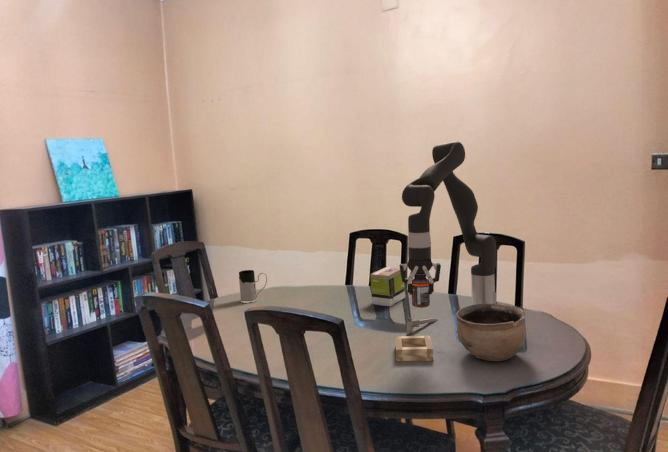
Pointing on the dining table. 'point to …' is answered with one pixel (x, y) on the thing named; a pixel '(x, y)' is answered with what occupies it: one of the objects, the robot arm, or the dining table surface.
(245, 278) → the glass holder
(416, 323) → the caliper
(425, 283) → the supplement bottle
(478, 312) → the ceramic bowl
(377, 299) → the tea box
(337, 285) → the dining table surface
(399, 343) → the square sleeve
